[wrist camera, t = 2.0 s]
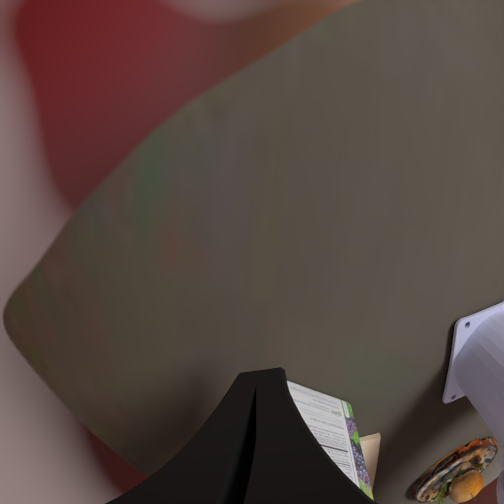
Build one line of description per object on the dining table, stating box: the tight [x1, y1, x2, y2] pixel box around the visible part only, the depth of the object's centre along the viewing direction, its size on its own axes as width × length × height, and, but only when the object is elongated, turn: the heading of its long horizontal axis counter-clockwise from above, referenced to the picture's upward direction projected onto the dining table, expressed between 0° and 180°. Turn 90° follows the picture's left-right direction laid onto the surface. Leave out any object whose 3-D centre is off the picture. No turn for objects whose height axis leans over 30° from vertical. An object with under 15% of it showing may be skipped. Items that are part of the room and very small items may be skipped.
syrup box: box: [287, 381, 374, 501], centre depth 12 cm, size 6×6×14 cm
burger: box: [412, 437, 498, 504], centre depth 17 cm, size 12×12×8 cm
